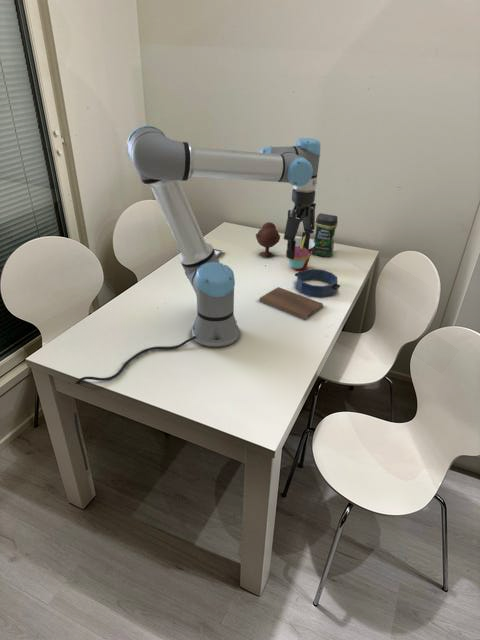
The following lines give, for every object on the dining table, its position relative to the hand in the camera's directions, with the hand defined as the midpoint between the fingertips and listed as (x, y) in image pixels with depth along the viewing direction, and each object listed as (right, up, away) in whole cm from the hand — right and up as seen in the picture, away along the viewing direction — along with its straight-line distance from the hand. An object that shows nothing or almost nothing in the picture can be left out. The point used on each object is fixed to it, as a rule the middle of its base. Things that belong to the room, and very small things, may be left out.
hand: (297, 254), depth 160 cm
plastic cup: (+5, -1, +37) cm, 37 cm away
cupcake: (0, -4, +2) cm, 5 cm away
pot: (+10, -10, +21) cm, 26 cm away
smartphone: (-35, +5, +44) cm, 56 cm away
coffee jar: (+18, +7, +51) cm, 55 cm away
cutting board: (-1, -17, +9) cm, 20 cm away
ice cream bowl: (-8, +6, +48) cm, 49 cm away
